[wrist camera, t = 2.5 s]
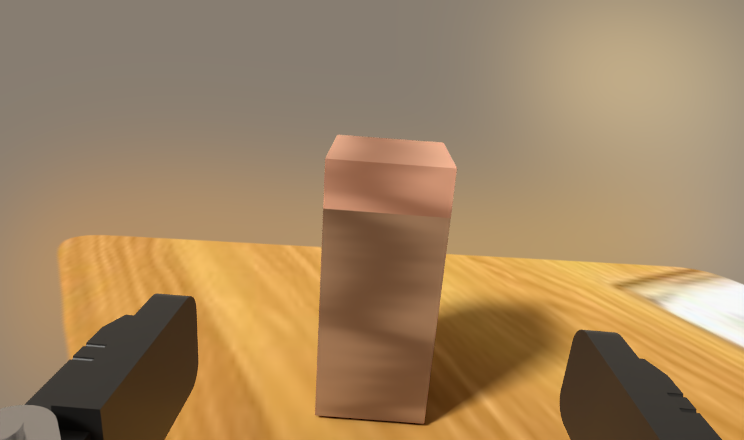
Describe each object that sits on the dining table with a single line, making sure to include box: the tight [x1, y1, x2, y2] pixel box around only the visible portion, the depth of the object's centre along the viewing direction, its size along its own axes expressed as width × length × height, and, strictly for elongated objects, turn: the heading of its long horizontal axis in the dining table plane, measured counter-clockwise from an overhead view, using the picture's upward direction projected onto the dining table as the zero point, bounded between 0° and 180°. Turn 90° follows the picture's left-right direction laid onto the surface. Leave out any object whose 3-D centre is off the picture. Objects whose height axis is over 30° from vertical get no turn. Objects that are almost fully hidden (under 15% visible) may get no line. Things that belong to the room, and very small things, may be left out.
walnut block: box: [315, 135, 457, 424], centre depth 24 cm, size 5×5×12 cm
